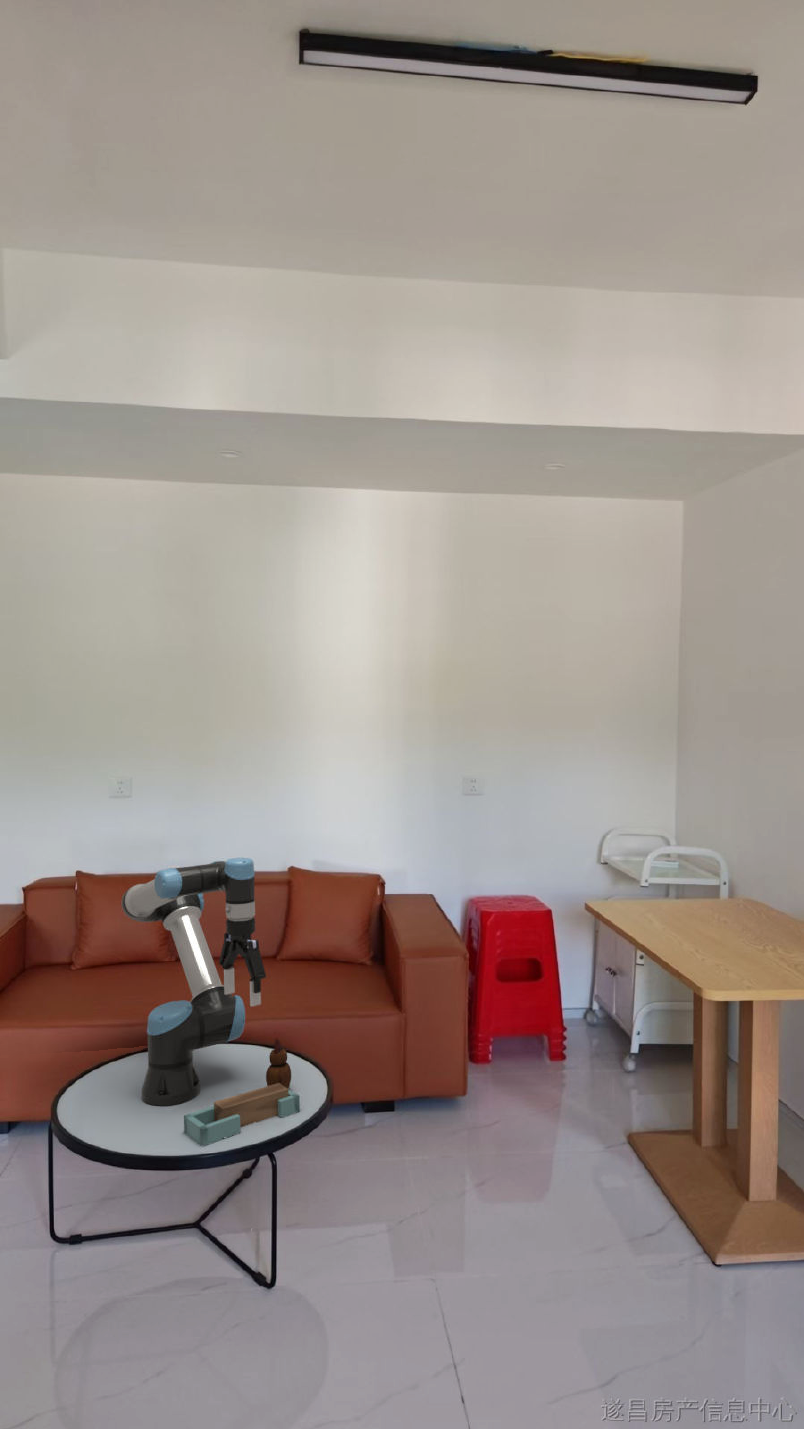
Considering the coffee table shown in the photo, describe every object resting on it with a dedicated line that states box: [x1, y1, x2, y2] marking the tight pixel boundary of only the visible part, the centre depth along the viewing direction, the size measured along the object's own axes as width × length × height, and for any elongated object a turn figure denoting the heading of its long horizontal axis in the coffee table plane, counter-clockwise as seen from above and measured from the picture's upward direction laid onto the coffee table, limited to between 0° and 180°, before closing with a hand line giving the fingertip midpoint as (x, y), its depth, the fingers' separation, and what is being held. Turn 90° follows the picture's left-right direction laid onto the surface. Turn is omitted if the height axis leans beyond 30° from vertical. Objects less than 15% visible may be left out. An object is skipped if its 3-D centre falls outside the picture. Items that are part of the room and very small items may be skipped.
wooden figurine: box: [265, 1037, 292, 1089], centre depth 230 cm, size 7×6×15 cm
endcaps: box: [183, 1088, 301, 1147], centre depth 213 cm, size 10×27×4 cm, turn 130°
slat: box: [213, 1083, 289, 1128], centre depth 215 cm, size 5×18×6 cm, turn 126°
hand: (242, 999), depth 225 cm, fingers open, 13 cm apart
